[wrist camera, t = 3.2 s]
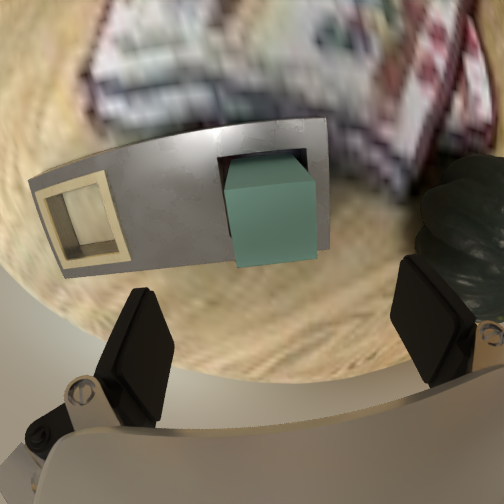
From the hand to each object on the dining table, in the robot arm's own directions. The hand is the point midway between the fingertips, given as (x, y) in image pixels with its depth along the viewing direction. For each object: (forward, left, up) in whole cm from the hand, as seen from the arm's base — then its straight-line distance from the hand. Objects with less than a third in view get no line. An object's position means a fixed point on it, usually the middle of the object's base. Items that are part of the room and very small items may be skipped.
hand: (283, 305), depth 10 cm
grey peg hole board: (+7, -1, -14) cm, 15 cm away
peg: (0, -1, -14) cm, 14 cm away
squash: (-19, +3, -14) cm, 24 cm away
